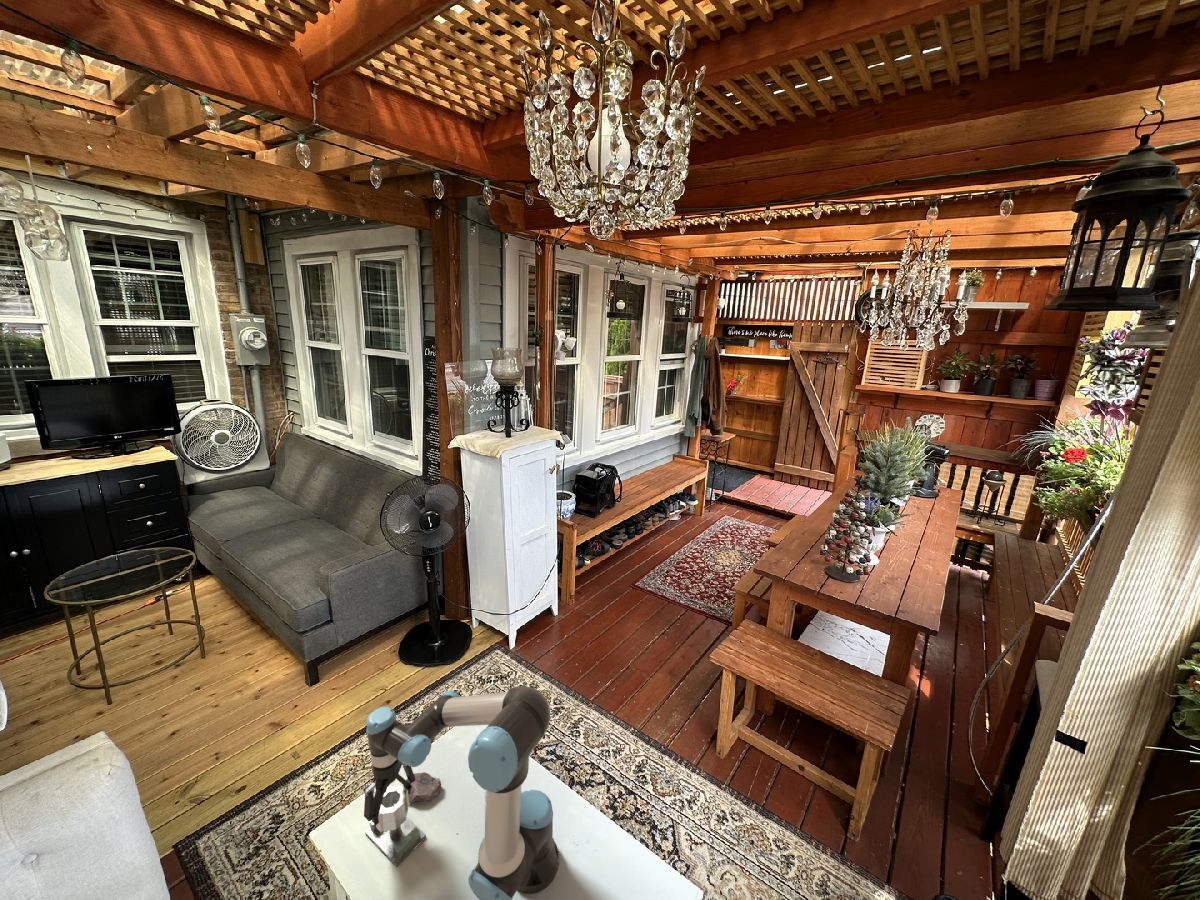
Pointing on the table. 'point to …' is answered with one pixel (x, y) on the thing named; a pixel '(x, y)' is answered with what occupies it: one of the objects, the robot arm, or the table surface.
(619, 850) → the table surface
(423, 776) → the rock
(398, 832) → the stand
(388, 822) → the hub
